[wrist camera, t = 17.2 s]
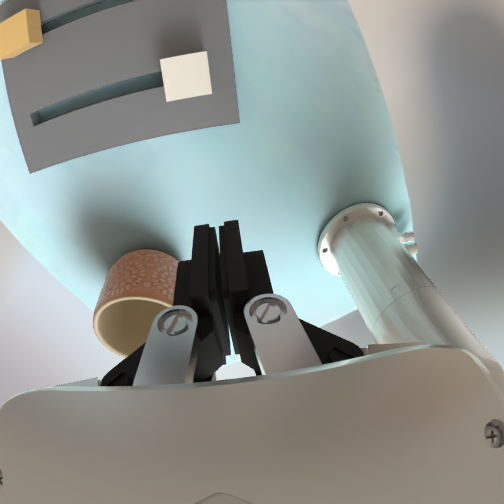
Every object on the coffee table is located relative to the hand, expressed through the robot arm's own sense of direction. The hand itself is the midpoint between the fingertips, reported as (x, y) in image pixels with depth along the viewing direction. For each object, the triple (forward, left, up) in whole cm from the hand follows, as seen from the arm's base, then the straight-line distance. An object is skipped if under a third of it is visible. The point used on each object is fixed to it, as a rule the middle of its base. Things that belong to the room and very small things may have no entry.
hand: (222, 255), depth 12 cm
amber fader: (+17, -16, -24) cm, 33 cm away
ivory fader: (+1, -6, -24) cm, 25 cm away
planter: (+11, +19, -24) cm, 33 cm away
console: (+9, -11, -24) cm, 28 cm away
